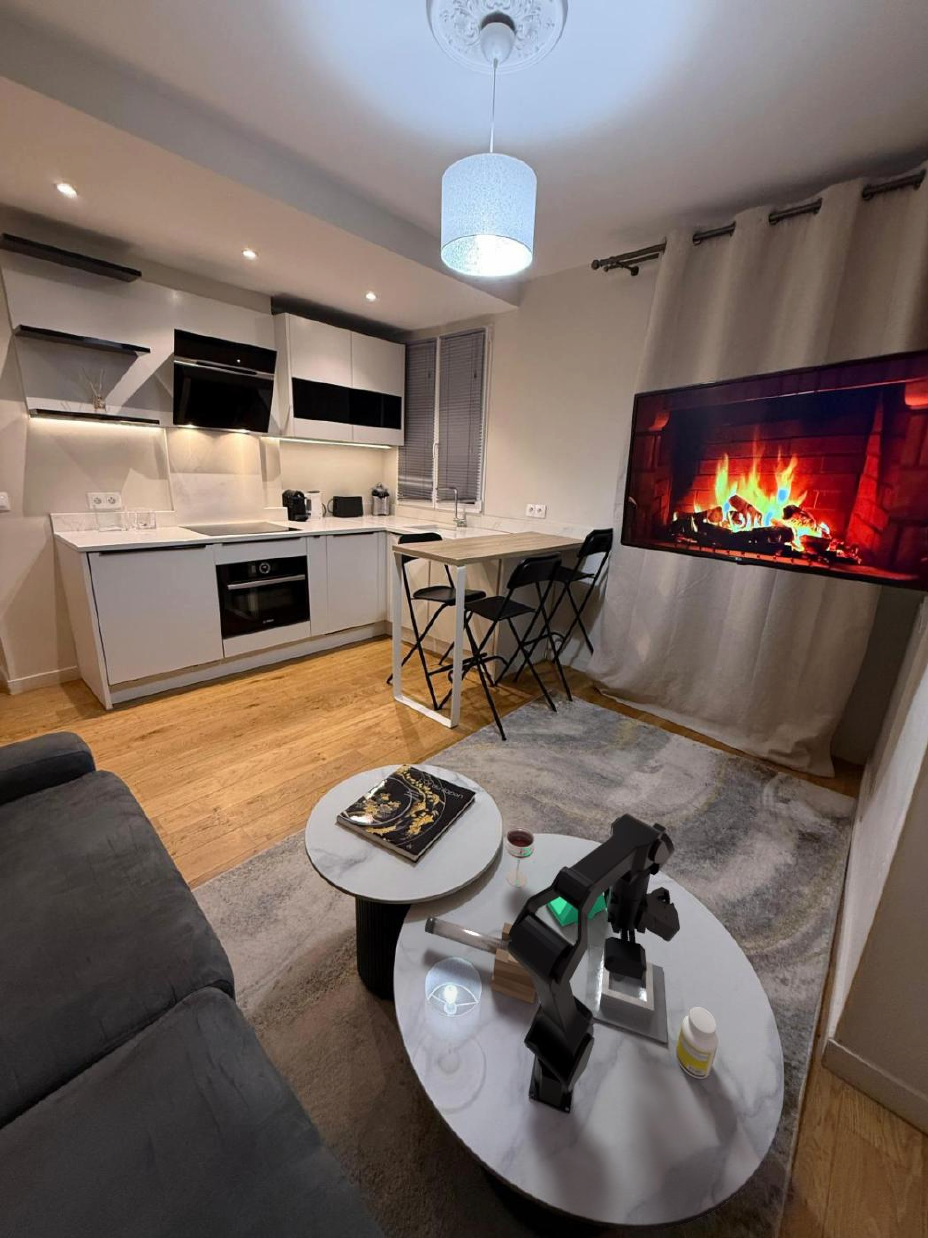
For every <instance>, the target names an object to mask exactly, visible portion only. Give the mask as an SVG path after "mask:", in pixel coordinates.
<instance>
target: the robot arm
mask: <svg viewBox="0 0 928 1238" xmlns="http://www.w3.org/2000/svg"><path fill="white" fill-rule="evenodd" d="M609 832H610V833H609V834H610V835H609V838H608V839H607V840H605V841H604V842H603V843H601V844H600V845H598V846H597V847H596V848H594V849H593V850H591V851H590V852H589V853H588V854H587V855H584V857H582V858H581V859H579V860H578V861H577V862H575V863H574V864H573V865H572V866H570V867H568V866H566V865H565V866H563V867H562V868H561V869H560V870H559V871H558V872H557V874H556V876H555V877H554V879H553V881H552V883H551V884H550V885H549V886H548V887H546V888H544V889H542V890H541V891H539V892H537V893H535V894H533V895H532V896H529V897H528V899H527V900H526V901H525V903H524V905H523V906H522V909H521V910H520V911H519V914H518V915H517V917H516V918H515V920H514V922H513V923H512V927H511V929H510V931H509V935H508V939H509V941H508V952H509V953H510V955H511V956H512V957H513V958H514V959H515V960H516V961H517V962H518V963H519V964H520V965H521V966H522V967H523V968H524V969H525V970H527V971H528V972H529V973H530V975H531V978H532V980H533V983H534V986H535V989H536V992H535V993H536V994H537V997H538V1000H539V1002H540V1003H539V1005H538V1007H537V1010H536V1011H535V1014H534V1017H533V1019H532V1021H531V1024H530V1027H529V1029H528V1031H527V1033H526V1035H525V1037H524V1039H523V1044H524V1046H525V1047H526V1048H527V1049H529V1050H530V1051H531V1053H532V1054H533V1055H534V1058H533V1065H532V1069H531V1070H532V1071H531V1076H530V1082H529V1089H528V1098H529V1099H530V1100H532V1101H535V1102H538V1103H540V1104H543V1105H545V1106H547V1107H548V1108H552V1109H554V1110H557V1111H559V1112H561V1113H564V1114H566V1115H568V1114H569V1115H570V1113H571V1111H572V1110H571V1108H572V1099H573V1089H574V1087H575V1084H577V1082H578V1080H579V1079H580V1078H581V1076H582V1075H583V1073H584V1072H585V1070H586V1068H587V1067H588V1064H589V1060H590V1056H591V1055H592V1054H591V1053H592V1051H593V1048H594V1045H595V1041H596V1040H595V1037H594V1033H595V1029H594V1025H595V1024H596V1020H594V1019H593V1014H592V1012H591V1010H590V1009H589V1008H588V1007H587V1006H585V1003H583V1001H581V1000H580V999H579V998H578V997H577V996H575V995H574V993H573V989H572V986H571V985H572V984H571V979H572V978H573V976H574V974H575V972H576V970H577V969H578V966H579V965H580V962H581V961H582V960H583V957H584V955H585V954H586V951H587V950H588V947H589V919H588V916H589V914H590V912H591V910H592V908H593V906H594V904H595V902H596V900H597V898H598V897H599V896H600V895H601V894H603V895H604V900H605V904H606V907H607V908H606V922H607V923H609V924H610V927H611V931H612V933H614V934H618V935H619V934H620V938H619V937H615V936H610V937H608V938H605V939H604V944H603V945H604V946H603V949H604V967H605V969H606V970H607V971H609V972H611V974H612V976H613V979H614V980H615V981H618V982H621V981H622V980H623V979H624V978H625V977H626V976H628V977H631V978H635V979H638V980H643V979H644V978H645V976H646V971H647V965H646V962H647V956H646V955H647V952H646V949H645V947H643V945H642V944H641V943H638V942H636V941H637V940H636V932H637V933H640V934H642V935H643V934H644V935H645V934H646V929H647V931H648V932H651V933H652V934H654V935H656V936H658V937H659V938H661V939H663V941H664V942H670V941H672V940H673V938H674V937H675V935H676V934H677V933H679V931H680V930H681V925H680V918H679V914H678V910H677V909H676V907H675V903H674V902H671V895H670V890H669V889H667V888H666V887H664V886H660V887H658V888H655V889H653V890H652V891H651V892H648V889H649V882H650V878H651V876H655V875H657V874H658V873H659V872H660V871H661V870H662V868H663V867H664V866H665V864H667V862H668V861H669V860H670V858H671V857H672V856H673V855H674V853H675V847H674V843H673V841H672V839H671V838H670V836H669V835H668V834H667V833H666V832H667V827H665V826H663V825H661V824H659V823H658V822H655V823H653V825H652V826H651V825H650V824H648V823H646V822H644V821H642V820H640V819H638V818H637V817H635V816H633V815H632V814H630V813H625V814H622V815H621V816H619V817H616V818H615V820H614V821H613V822H612V823H611V825H610V831H609ZM559 897H561V898H562V899H563V900H565V901H566V902H567V903H569V904H570V905H571V906H573V907H574V908H575V909H577V910H578V923H577V933H576V934H577V938H576V941H575V943H574V944H573V943H571V942H570V941H569V940H568V939H567V938H565V937H564V935H562V934H561V933H559V932H558V931H557V930H556V929H554V928H553V927H552V926H551V925H549V924H548V923H547V922H545V920H543V919H542V918H540V916H538V915H537V912H538V910H539V909H540V908H543V907H544V906H547V904H548V903H550V902H552V901H553V900H555V899H557V898H559ZM531 1094H532V1095H531Z"/></svg>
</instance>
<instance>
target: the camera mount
mask: <svg viewBox="0 0 928 1238" xmlns="http://www.w3.org/2000/svg"><path fill="white" fill-rule="evenodd" d="M546 906H548V908H549V909H550V911H551V912H552V914H553V915H554V916H555V918H556V919H557V921H558V922H559V924H560V925H561V927H565V926H566V925H567V926H568V925H570V924H573V923H575V924H577V925H578V910H577V909H575V908H574V907H573V906H571V905H570V904H569V903H567V902H566V901H565V900H563V899H562V898H561V897H559V898H557V899H555V900H553V901H552V902H550V903H548V904H546ZM604 910H607V907H606V904H605V900H604V893H603V894H601V895H600V896H599V897H598V898H597V900H596V902H595V904H594V906H593V908H592V910H591V912H590V914H589V916H588V920H589V919H591V918H594V917H595V914H596V913H599V912H602V911H604Z"/></svg>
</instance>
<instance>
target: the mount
mask: <svg viewBox="0 0 928 1238" xmlns="http://www.w3.org/2000/svg"><path fill="white" fill-rule="evenodd" d="M512 925H513V923H512V924H511V923H509V922H506V921H505V922H503V927H502V930H501V939H502V940H505V941H509V939H508V935H509V931H510V929H511V927H512ZM491 977H492V978H491V986H490V987H491V988H490V989H491V990H493V991H496V992H499V993H503V994H504V995H507V996H511V997H513V998H516V999H518V1000H522V1001H524V1002H527V1003H530V1004H534V1002H535V996H536V993H537V992H536V989H535V986H534V983H533V980H532V978H531V975H530V973H529V972H528V971H527V970H525V969H524V968H523V967H522V966H521V965H520V964H519V963H518V962H517V961H516V960H515V959H514V958H513V957H512V956H511V955H510V953H509V952H508V951H505V950H502V949H499V948H497V951H496V955H495V956H494V961H493V973H492V976H491Z"/></svg>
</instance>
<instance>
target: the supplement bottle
mask: <svg viewBox="0 0 928 1238" xmlns="http://www.w3.org/2000/svg"><path fill="white" fill-rule="evenodd" d="M716 1030H717V1022H716V1019H715V1017H714V1016H713V1015H712V1014H711V1013H710V1012H709V1011H708V1010H707V1009H705V1008H703V1007H699V1006H694V1007H692V1008H691V1009H690V1011H689V1014H688V1015H686V1016H685V1017H684V1018H683V1020H682V1023H681V1026H680V1031H679V1037H678V1040H677V1045H676V1049H675V1050H676V1051H675V1054H676V1058H677V1061H678V1064H679V1065H680V1067H681V1068H682V1069H683V1071H685V1072H686V1074H687V1075H689V1076H691V1077H692V1078H693V1079H699V1080H700V1079H701V1080H702V1079H706V1078H707V1077H709V1075H710V1074H711V1071H712V1068H713V1063H714V1060H715V1056H716V1053H717V1048H718V1045H719V1037H718V1033H717V1031H716Z"/></svg>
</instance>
